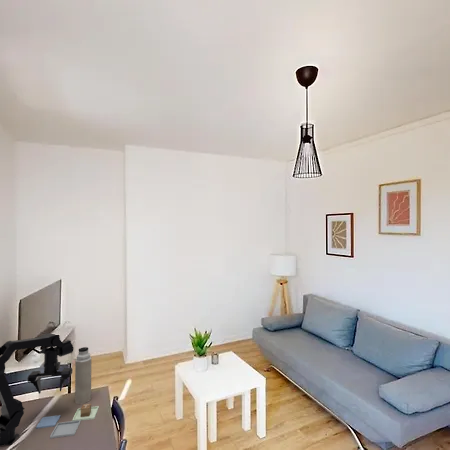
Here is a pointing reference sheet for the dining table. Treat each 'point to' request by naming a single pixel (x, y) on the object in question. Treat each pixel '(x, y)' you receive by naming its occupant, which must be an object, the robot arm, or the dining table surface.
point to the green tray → (92, 416)
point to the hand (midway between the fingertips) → (50, 392)
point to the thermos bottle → (83, 376)
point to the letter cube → (85, 410)
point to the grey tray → (65, 429)
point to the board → (48, 421)
